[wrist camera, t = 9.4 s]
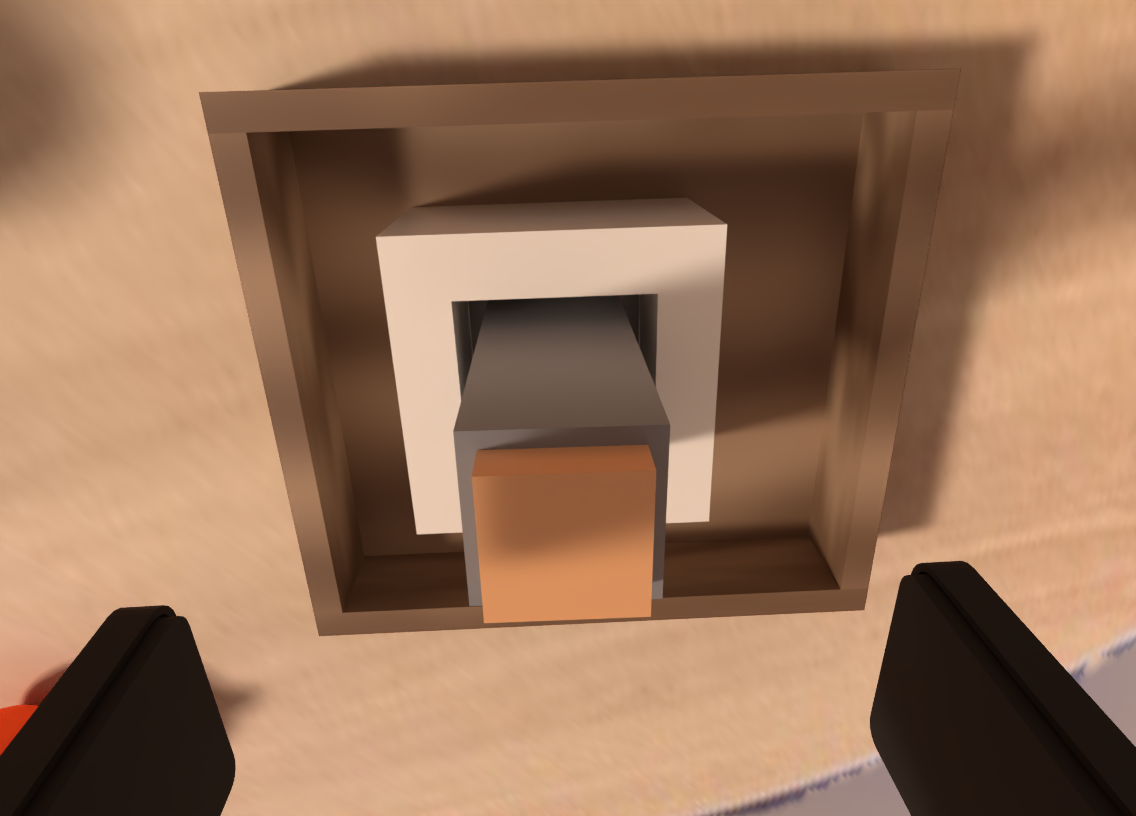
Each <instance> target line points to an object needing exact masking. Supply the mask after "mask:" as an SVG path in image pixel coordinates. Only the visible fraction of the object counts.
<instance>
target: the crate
mask: <svg viewBox="0 0 1136 816" xmlns="http://www.w3.org/2000/svg"><path fill="white" fill-rule="evenodd" d="M960 71H961V69H935V70H903V71H871V72H839V73H806V74H774V75H742V76H710V77H678V78H646V79H614V80H582V81H550V82H517V83H485V84H453V85H421V86H389V87H357V88H325V89H293V90H261V91H229V92H199V95H200V100H201V104H202V109H203V113H204V118H205V122H206V127H207V131H208V136H209V140H210V145H211V149H212V154H213V158H214V163H215V167H216V172H217V176H218V181H219V185H220V190H221V195H222V199H223V204H224V208H225V213H226V217H227V222H228V226H229V231H230V235H231V240H232V244H233V249H234V253H235V258H236V262H237V267H238V271H239V276H240V280H241V285H242V290H243V294H244V299H245V303H246V308H247V312H248V317H249V321H250V326H251V330H252V335H253V339H254V344H255V348H256V353H257V357H258V362H259V366H260V371H261V375H262V380H263V385H264V389H265V394H266V398H267V403H268V407H269V412H270V416H271V421H272V425H273V430H274V434H275V439H276V443H277V448H278V452H279V457H280V461H281V466H282V470H283V475H284V480H285V484H286V489H287V493H288V498H289V502H290V507H291V511H292V516H293V520H294V525H295V529H296V534H297V538H298V543H299V547H300V552H301V556H302V561H303V565H304V570H305V574H306V579H307V584H308V588H309V593H310V597H311V602H312V606H313V611H314V615H315V620H316V624H317V629H318V633H319V636H332V635H353V634H374V633H395V632H416V631H437V630H458V629H479V628H500V627H521V626H542V625H563V624H584V623H605V622H626V621H647V620H668V619H689V618H710V617H731V616H751V615H772V614H793V613H814V612H835V611H856V610H864V609H865V603H866V598H867V592H868V586H869V581H870V575H871V570H872V564H873V558H874V553H875V547H876V542H877V536H878V530H879V525H880V519H881V514H882V508H883V502H884V497H885V491H886V486H887V480H888V474H889V469H890V463H891V457H892V452H893V446H894V441H895V435H896V429H897V424H898V418H899V413H900V407H901V401H902V396H903V390H904V385H905V379H906V373H907V368H908V362H909V357H910V351H911V345H912V340H913V334H914V329H915V323H916V317H917V312H918V306H919V301H920V295H921V289H922V284H923V278H924V273H925V267H926V261H927V256H928V250H929V245H930V239H931V233H932V228H933V222H934V217H935V211H936V205H937V200H938V194H939V189H940V183H941V177H942V172H943V166H944V161H945V155H946V149H947V144H948V138H949V133H950V127H951V121H952V116H953V110H954V105H955V99H956V93H957V88H958V82H959V77H960ZM663 198H688V199H690V200H691V201H693V202H694V203H696V204H697V205H699V206H700V207H702V208H703V209H705V210H706V211H708V212H709V213H711V214H712V215H714V216H715V217H717V218H718V219H720V220H722V221H723V222H725V223H726V224H727V237H726V254H725V270H724V286H723V302H722V318H721V334H720V351H719V367H718V383H717V399H716V415H715V431H714V448H713V464H712V480H711V496H710V512H709V521H706V522H684V523H666V532H665V554H664V576H663V598H662V599H651V617H632V618H606V619H580V620H554V621H529V622H503V623H484V617H483V606H469V595H468V585H467V574H466V563H465V553H464V542H463V532H460V533H438V534H417V532H416V524H415V517H414V510H413V503H412V495H411V488H410V481H409V474H408V467H407V459H406V452H405V445H404V438H403V430H402V423H401V416H400V409H399V402H398V394H397V387H396V380H395V373H394V365H393V358H392V351H391V344H390V337H389V329H388V322H387V315H386V308H385V300H384V293H383V286H382V279H381V271H380V264H379V257H378V250H377V243H376V236H377V235H379V234H380V233H381V232H382V231H383V230H385V229H386V228H387V227H388V226H390V225H391V224H392V223H393V222H394V221H396V220H397V219H398V218H399V217H400V216H402V215H403V214H404V213H405V212H406V211H408V210H409V209H410V208H411V207H434V206H462V205H491V204H520V203H549V202H577V201H606V200H635V199H663Z"/></svg>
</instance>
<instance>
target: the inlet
mask: <svg viewBox="0 0 1136 816" xmlns="http://www.w3.org/2000/svg"><path fill="white" fill-rule="evenodd" d="M726 237H727V224H726V223H725V222H723V221H722V220H720V219H718V218H717V217H715V216H714V215H712V214H711V213H709V212H708V211H706V210H705V209H703V208H702V207H700V206H699V205H697V204H696V203H694V202H693V201H691V200H690V199H688V198H663V199H635V200H606V201H577V202H549V203H520V204H491V205H462V206H434V207H411V208H410V209H409V210H408V211H406V212H405V213H404V214H403V215H402V216H400V217H399V218H398V219H397V220H396V221H394V222H393V223H392V224H391V225H390V226H388V227H387V228H386V229H385V230H383V231H382V232H381V233H380V234H379V235H377V236H376V243H377V250H378V257H379V264H380V271H381V279H382V286H383V293H384V300H385V308H386V315H387V322H388V329H389V337H390V344H391V351H392V358H393V365H394V373H395V380H396V387H397V394H398V402H399V409H400V416H401V423H402V430H403V438H404V445H405V452H406V459H407V467H408V474H409V481H410V488H411V495H412V503H413V510H414V517H415V524H416V532H417V534H438V533H460V532H463V531H462V521H461V510H460V499H459V489H458V478H457V467H456V457H455V446H454V435H453V430H454V426H455V423H456V419H457V415H458V411H459V407H460V404H461V400H462V396H463V392H464V389H465V385H466V381H467V377H468V373H469V370H470V366H471V362H472V358H473V355H474V351H475V347H476V343H477V339H478V336H479V332H480V328H481V324H482V321H483V317H484V313H485V309H486V305H487V302H488V300H502V299H528V298H555V297H582V296H608V295H619V298H620V300H621V303H622V305H623V308H624V310H625V313H626V315H627V318H628V320H629V323H630V325H631V328H632V330H633V333H634V335H635V338H636V340H637V342H638V345H639V347H640V350H641V352H642V355H643V357H644V360H645V362H646V365H647V367H648V370H649V372H650V375H651V377H652V380H653V382H654V385H655V387H656V390H657V392H658V395H659V397H660V400H661V402H662V405H663V407H664V410H665V412H666V415H667V417H668V420H669V422H670V444H669V466H668V488H667V510H666V523H684V522H706V521H709V512H710V496H711V480H712V464H713V448H714V431H715V415H716V399H717V383H718V367H719V351H720V334H721V318H722V302H723V286H724V270H725V254H726Z"/></svg>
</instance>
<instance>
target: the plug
mask: <svg viewBox="0 0 1136 816" xmlns="http://www.w3.org/2000/svg"><path fill="white" fill-rule="evenodd" d="M453 435H454V446H455V457H456V467H457V478H458V489H459V499H460V510H461V521H462V531H463V542H464V553H465V563H466V574H467V585H468V595H469V606H483V617H484V623H503V622H529V621H554V620H580V619H606V618H632V617H651V599H662V598H663V576H664V554H665V532H666V510H667V488H668V466H669V444H670V422H669V420H668V417H667V415H666V412H665V410H664V407H663V405H662V402H661V400H660V397H659V395H658V392H657V390H656V387H655V385H654V382H653V380H652V377H651V375H650V372H649V370H648V367H647V365H646V362H645V360H644V357H643V355H642V352H641V350H640V347H639V345H638V342H637V340H636V338H635V335H634V333H633V330H632V328H631V325H630V323H629V320H628V318H627V315H626V313H625V310H624V308H623V305H622V303H621V300H620V298H619V295H608V296H582V297H555V298H528V299H502V300H488V302H487V305H486V309H485V313H484V317H483V321H482V324H481V328H480V332H479V336H478V339H477V343H476V347H475V351H474V355H473V358H472V362H471V366H470V370H469V373H468V377H467V381H466V385H465V389H464V392H463V396H462V400H461V404H460V407H459V411H458V415H457V419H456V423H455V426H454V430H453Z"/></svg>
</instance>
